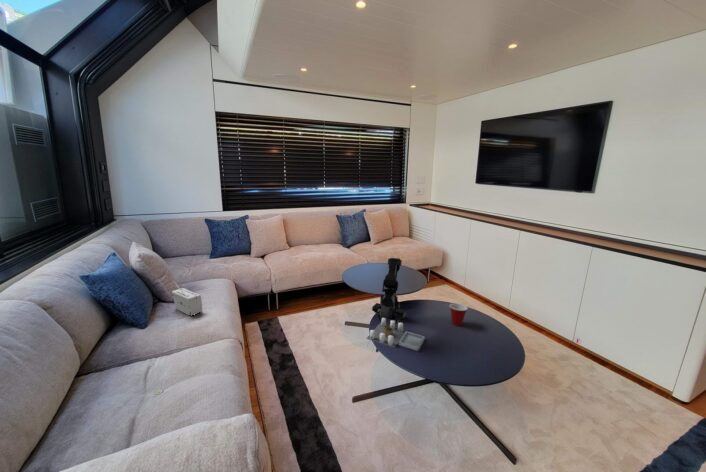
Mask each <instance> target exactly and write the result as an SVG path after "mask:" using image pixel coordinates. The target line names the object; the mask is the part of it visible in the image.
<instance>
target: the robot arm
mask: <svg viewBox="0 0 706 472" xmlns="http://www.w3.org/2000/svg"><path fill="white" fill-rule="evenodd" d="M402 262H403V260H402V259H400V258H398V257H397V258H396V257H390V258H388V259H387V266H388V273H387V274H386V275H385V277H384V279H383V283H382V293H384V294H383V297H382V301H381V303H378V302H376V303H374V305H372V307H371V311H372V312H374V313H375V314H377V317H378V320H379V322H380V323H381V321H382V318H383V317H384V318H386V319H387V318H388V319H389V320H394V321H395V327H397V326H398V323H399V321H400V320H401V319H404V317H405V316H406V314H407V311H406V310H405V309H401V306H400V305H401V304H400V301H399V298H398V295H397V292H398V290H399V282H398V272H399V271H400V269H401V266H402Z"/></svg>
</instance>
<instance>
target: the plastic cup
mask: <svg viewBox="0 0 706 472" xmlns="http://www.w3.org/2000/svg"><path fill="white" fill-rule="evenodd" d="M449 308H450V309H449V310H450V317H451V324H452V325H453V326H456V327H460V326H462V325H463V321H464V318H465V316H466V313H467V310H468V309H469V308H468V306H467V305H464V304H462V303H450V304H449Z"/></svg>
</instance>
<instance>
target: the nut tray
mask: <svg viewBox="0 0 706 472" xmlns="http://www.w3.org/2000/svg"><path fill="white" fill-rule="evenodd" d="M424 341H425V336H423V335H421V334H417V333H415V332H414V333H413V332H410V331H407V330H406V332H405V333H404V334H403V336H402V337H401V339H400V340H399V342H398V343H397V345H398V346H401V347H404V348H406V349H410V350H413V351H416V352H419V350H420V349H421V347H422V345H423V344H424Z"/></svg>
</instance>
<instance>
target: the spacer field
mask: <svg viewBox="0 0 706 472" xmlns="http://www.w3.org/2000/svg"><path fill="white" fill-rule="evenodd" d="M395 321H396V320H394V319H390V324H389V325H388V324H387V317H382V321H381V322H380V323H379V324H377V326H376V327H375V328H374V329H371V330H369V335H368V336H367V337H366V338H365V339H366V340H368V341H372V342H376V343H379V344H382V345H385V346H389V347H391V348H395V347H396V346H397V345H398V343H399V341H400V339H401V338H402V336H403V335H404V334H405V332H406V331H407V330H406V329H404V323H403V322H398V323H397V326H395ZM384 327H390V328H392V329H393V334H392V335H389V336H388V337H385V333H383V328H384ZM371 337H372V338H371ZM372 339H373V340H372Z"/></svg>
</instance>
